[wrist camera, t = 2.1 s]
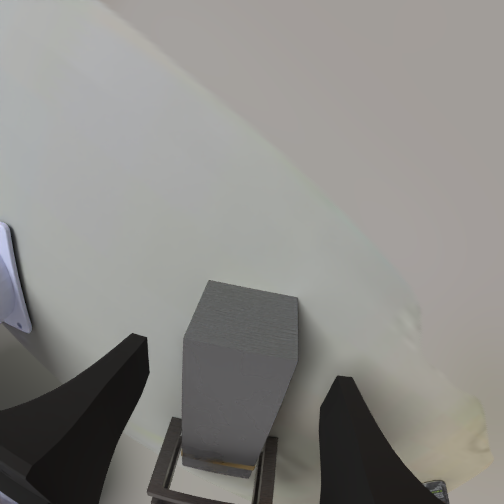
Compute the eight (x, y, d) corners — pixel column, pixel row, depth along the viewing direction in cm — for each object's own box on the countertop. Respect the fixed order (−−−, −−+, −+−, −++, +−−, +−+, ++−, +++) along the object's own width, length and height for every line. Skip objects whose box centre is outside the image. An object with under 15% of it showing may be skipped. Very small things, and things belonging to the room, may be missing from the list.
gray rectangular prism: (195, 416, 19) (181, 465, 15) (207, 279, 14) (182, 337, 11) (256, 428, 19) (249, 478, 15) (298, 297, 14) (299, 360, 10)
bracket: (172, 422, 20) (147, 495, 14) (172, 416, 19) (146, 491, 14) (275, 443, 20) (268, 519, 14) (277, 438, 19) (270, 516, 14)
